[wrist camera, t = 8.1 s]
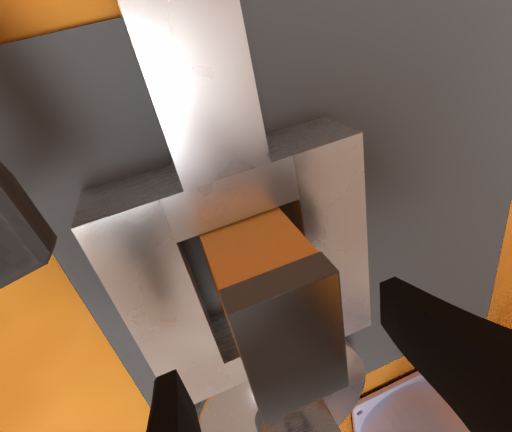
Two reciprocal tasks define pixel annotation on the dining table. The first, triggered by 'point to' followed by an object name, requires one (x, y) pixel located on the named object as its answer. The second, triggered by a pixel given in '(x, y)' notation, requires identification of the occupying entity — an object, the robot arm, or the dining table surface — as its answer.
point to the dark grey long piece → (21, 232)
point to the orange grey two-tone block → (279, 310)
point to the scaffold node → (221, 209)
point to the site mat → (287, 113)
